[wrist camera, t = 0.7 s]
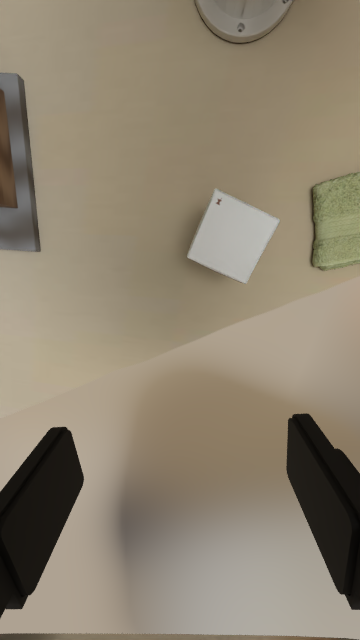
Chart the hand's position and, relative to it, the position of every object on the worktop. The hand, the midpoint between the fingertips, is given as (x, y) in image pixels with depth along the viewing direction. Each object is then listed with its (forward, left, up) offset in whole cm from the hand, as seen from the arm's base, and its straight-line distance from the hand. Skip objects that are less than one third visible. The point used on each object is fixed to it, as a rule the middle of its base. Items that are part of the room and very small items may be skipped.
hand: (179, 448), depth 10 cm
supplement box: (-10, +4, -30) cm, 32 cm away
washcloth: (-15, +26, -31) cm, 43 cm away
